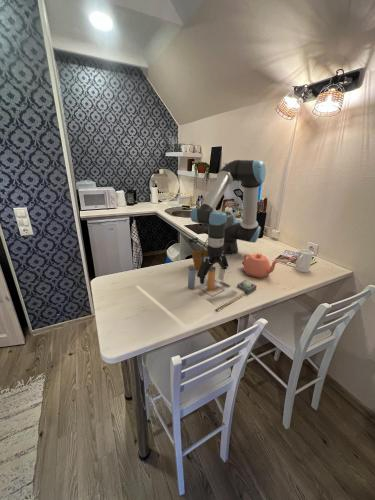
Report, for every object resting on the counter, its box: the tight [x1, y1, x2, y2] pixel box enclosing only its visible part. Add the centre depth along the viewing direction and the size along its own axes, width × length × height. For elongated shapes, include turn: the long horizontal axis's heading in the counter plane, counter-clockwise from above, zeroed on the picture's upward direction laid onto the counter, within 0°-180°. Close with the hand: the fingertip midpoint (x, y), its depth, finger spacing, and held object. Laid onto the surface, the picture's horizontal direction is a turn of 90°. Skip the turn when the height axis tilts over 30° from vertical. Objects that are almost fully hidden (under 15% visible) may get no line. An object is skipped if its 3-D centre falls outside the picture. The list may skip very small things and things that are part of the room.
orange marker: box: [207, 265, 217, 290], centre depth 111 cm, size 4×4×12 cm
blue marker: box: [187, 264, 196, 290], centre depth 112 cm, size 4×4×12 cm
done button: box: [242, 280, 253, 288], centre depth 116 cm, size 4×4×3 cm
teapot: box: [242, 252, 280, 278], centre depth 130 cm, size 22×16×12 cm
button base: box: [236, 279, 257, 295], centre depth 116 cm, size 7×7×2 cm
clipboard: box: [186, 277, 245, 312], centre depth 112 cm, size 24×20×1 cm
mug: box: [294, 248, 314, 273], centre depth 137 cm, size 12×8×12 cm
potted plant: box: [188, 227, 211, 271], centre depth 130 cm, size 18×19×30 cm
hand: (212, 284), depth 112 cm, fingers open, 13 cm apart
